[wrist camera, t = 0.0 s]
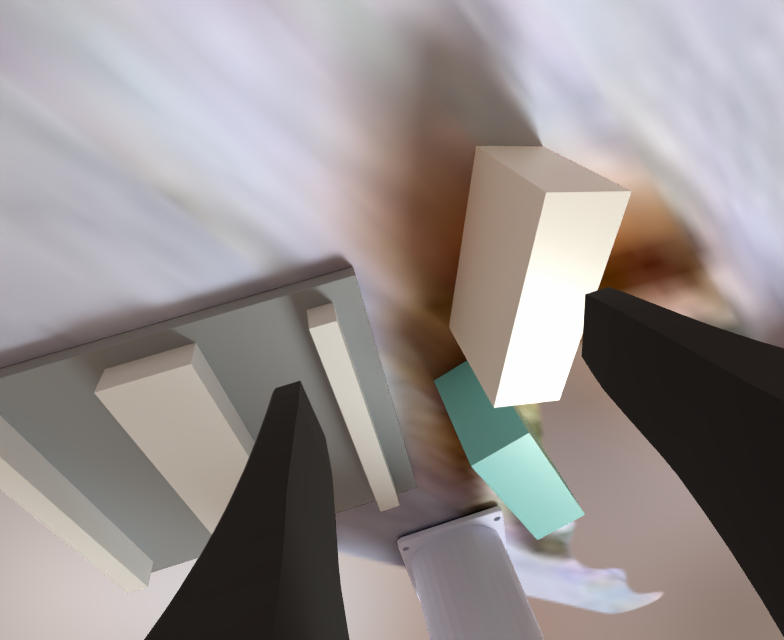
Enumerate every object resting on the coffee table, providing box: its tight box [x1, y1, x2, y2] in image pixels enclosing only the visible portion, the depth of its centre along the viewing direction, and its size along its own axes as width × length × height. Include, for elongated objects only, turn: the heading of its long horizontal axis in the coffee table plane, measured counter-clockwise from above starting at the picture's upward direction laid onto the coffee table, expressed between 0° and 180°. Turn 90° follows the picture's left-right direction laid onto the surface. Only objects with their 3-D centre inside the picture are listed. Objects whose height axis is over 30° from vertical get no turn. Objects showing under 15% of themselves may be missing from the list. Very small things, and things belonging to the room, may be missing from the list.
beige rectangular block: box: [449, 146, 632, 408], centre depth 19 cm, size 9×3×6 cm, turn 177°
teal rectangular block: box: [434, 361, 585, 540], centre depth 26 cm, size 9×3×6 cm, turn 32°
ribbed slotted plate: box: [0, 267, 417, 593], centre depth 24 cm, size 16×19×2 cm
